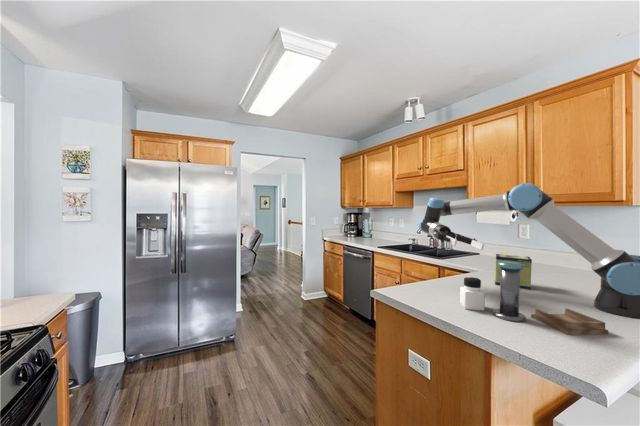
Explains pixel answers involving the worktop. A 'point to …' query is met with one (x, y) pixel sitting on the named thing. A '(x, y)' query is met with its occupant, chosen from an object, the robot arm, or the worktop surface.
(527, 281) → the protein box
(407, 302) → the worktop surface
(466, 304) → the medicine bottle
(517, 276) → the bobbin post
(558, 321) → the notched board
